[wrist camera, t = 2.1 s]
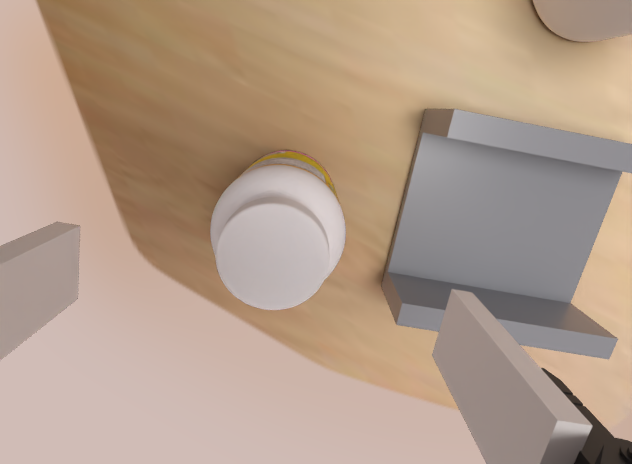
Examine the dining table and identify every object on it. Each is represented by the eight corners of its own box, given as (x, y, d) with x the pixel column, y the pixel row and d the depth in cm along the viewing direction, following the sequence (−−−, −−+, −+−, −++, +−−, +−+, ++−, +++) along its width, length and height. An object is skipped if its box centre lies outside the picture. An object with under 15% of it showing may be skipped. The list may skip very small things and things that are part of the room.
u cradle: (425, 108, 27) (454, 109, 22) (622, 147, 28) (698, 157, 23) (381, 286, 31) (396, 324, 26) (557, 315, 32) (608, 359, 26)
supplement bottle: (314, 254, 30) (317, 353, 18) (228, 222, 30) (169, 304, 17) (349, 169, 29) (379, 214, 16) (259, 133, 28) (218, 152, 16)
